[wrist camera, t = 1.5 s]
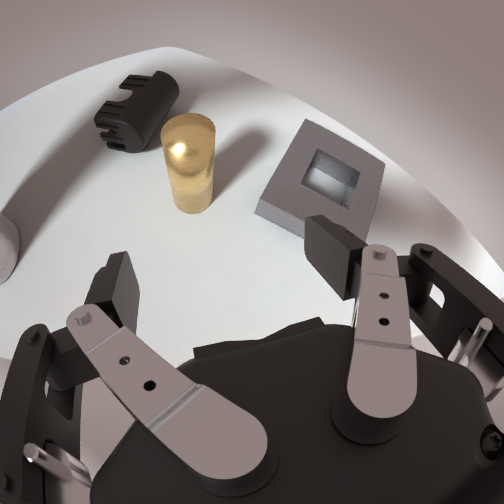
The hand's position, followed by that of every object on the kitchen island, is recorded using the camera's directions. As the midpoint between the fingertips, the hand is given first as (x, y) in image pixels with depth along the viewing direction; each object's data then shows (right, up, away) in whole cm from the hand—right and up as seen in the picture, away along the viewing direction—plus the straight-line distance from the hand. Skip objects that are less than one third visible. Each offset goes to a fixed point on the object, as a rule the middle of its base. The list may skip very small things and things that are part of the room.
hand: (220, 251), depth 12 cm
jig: (+10, +7, +21) cm, 24 cm away
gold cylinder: (-5, +6, +18) cm, 20 cm away
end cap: (-13, +17, +21) cm, 30 cm away
